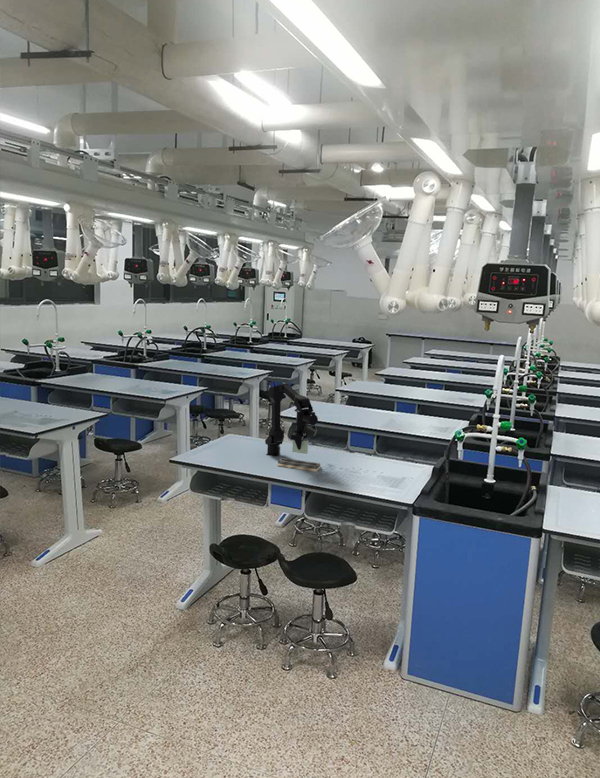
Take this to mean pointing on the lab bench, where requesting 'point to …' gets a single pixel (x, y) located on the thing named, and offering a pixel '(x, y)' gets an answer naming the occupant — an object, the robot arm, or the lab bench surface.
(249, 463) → the lab bench surface
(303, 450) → the door panel
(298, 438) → the robot arm
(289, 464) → the track
